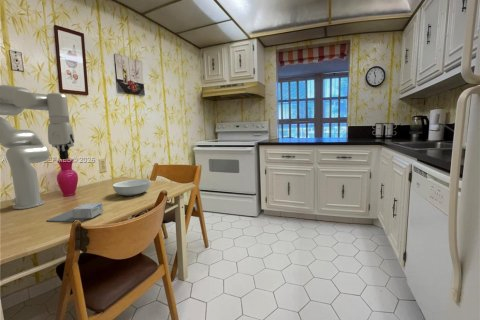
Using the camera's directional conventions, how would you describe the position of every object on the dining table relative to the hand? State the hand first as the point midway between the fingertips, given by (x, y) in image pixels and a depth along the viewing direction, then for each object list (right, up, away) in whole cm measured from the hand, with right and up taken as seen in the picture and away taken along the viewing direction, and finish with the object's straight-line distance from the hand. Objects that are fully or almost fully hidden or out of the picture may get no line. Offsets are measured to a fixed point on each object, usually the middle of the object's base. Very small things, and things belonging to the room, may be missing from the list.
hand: (64, 159), depth 114 cm
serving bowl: (+20, -21, +29) cm, 41 cm away
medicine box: (+12, -23, -8) cm, 27 cm away
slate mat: (+11, -26, -7) cm, 29 cm away
